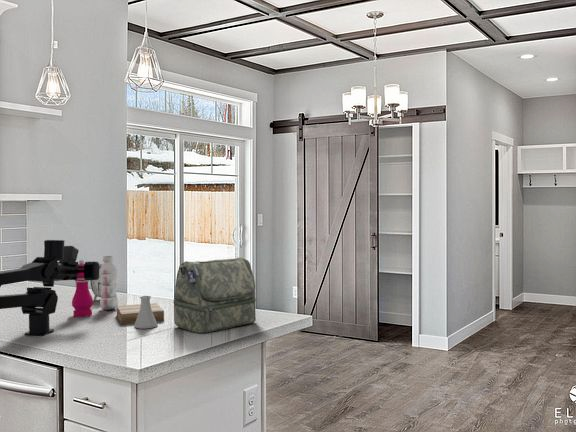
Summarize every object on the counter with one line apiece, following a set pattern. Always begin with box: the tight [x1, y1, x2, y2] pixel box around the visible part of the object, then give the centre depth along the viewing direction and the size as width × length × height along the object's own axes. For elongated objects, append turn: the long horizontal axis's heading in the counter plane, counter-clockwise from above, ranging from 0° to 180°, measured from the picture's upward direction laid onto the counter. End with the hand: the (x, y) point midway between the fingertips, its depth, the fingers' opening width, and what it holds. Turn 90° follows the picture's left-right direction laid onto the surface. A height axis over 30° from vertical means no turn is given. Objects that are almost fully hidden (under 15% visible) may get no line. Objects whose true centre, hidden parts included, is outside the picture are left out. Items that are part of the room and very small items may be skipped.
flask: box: [133, 295, 159, 330], centre depth 199 cm, size 7×7×10 cm
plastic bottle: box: [99, 255, 119, 311], centre depth 230 cm, size 6×7×20 cm
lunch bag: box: [173, 257, 257, 334], centre depth 200 cm, size 26×18×22 cm
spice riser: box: [116, 302, 165, 325], centre depth 213 cm, size 16×14×4 cm
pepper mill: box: [71, 259, 94, 318], centre depth 220 cm, size 7×7×20 cm
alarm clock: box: [89, 262, 103, 300], centre depth 253 cm, size 12×7×15 cm, turn 49°
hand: (87, 271), depth 215 cm, fingers open, 9 cm apart
